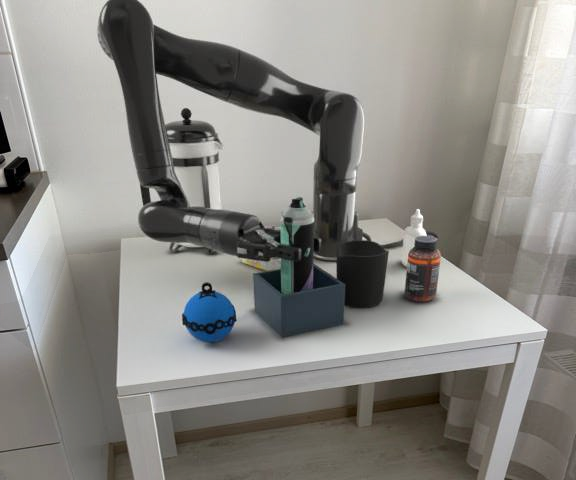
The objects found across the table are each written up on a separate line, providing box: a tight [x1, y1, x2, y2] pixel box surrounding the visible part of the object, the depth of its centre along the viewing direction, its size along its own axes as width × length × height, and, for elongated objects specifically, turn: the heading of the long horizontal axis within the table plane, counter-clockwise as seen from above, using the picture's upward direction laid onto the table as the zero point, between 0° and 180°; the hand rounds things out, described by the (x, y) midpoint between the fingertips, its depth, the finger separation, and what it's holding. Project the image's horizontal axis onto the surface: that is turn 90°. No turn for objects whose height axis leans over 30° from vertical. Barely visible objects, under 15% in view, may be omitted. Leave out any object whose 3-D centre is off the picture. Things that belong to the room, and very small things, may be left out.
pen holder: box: [335, 239, 390, 309], centre depth 104 cm, size 9×9×10 cm
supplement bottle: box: [404, 235, 442, 303], centre depth 104 cm, size 6×6×11 cm
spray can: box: [280, 196, 314, 295], centre depth 94 cm, size 6×6×20 cm
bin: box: [252, 262, 345, 339], centre depth 98 cm, size 12×12×7 cm
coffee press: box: [139, 107, 225, 255], centre depth 127 cm, size 17×16×30 cm
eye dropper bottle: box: [400, 208, 428, 268], centre depth 119 cm, size 4×6×12 cm
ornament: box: [181, 281, 237, 344], centre depth 90 cm, size 9×9×10 cm
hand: (310, 250), depth 92 cm, fingers closed on spray can, 5 cm apart
